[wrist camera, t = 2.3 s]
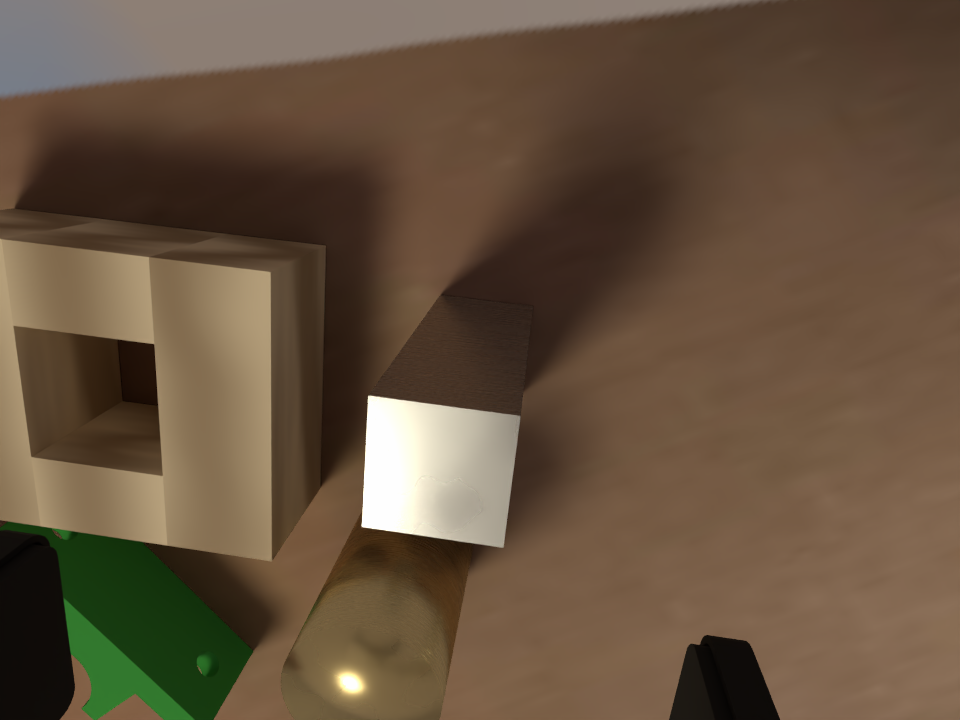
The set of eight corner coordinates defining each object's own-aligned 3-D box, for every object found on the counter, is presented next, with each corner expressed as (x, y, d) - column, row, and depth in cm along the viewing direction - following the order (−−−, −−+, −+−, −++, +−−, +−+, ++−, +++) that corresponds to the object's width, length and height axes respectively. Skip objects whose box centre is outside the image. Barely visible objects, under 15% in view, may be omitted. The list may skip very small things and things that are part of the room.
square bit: (533, 305, 24) (520, 415, 14) (522, 393, 25) (503, 547, 16) (440, 294, 24) (368, 395, 15) (433, 381, 25) (361, 527, 16)
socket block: (326, 245, 24) (270, 271, 19) (320, 487, 27) (271, 561, 22) (13, 208, 25) (-115, 225, 20) (44, 448, 28) (-59, 511, 23)
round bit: (478, 499, 27) (448, 641, 19) (466, 601, 28) (435, 769, 21) (356, 481, 27) (280, 615, 19) (352, 583, 29) (280, 743, 21)
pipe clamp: (27, 516, 30) (-64, 580, 25) (77, 472, 29) (-9, 531, 24) (202, 684, 32) (145, 771, 27) (255, 649, 31) (205, 733, 26)
